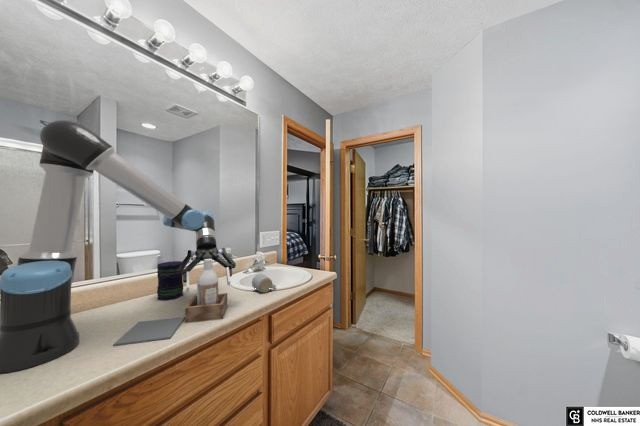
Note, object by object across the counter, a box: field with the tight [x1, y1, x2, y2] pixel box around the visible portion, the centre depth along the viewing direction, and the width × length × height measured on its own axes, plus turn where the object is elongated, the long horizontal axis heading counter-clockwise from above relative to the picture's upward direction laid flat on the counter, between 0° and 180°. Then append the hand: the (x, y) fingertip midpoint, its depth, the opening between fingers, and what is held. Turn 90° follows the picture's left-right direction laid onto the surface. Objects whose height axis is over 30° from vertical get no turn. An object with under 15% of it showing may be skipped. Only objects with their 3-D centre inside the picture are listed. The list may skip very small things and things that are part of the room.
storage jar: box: [156, 260, 184, 302], centre depth 102 cm, size 10×10×15 cm
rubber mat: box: [112, 316, 185, 347], centre depth 72 cm, size 14×14×1 cm
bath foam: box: [196, 259, 219, 306], centre depth 84 cm, size 7×7×20 cm
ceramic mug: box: [251, 273, 277, 294], centre depth 110 cm, size 11×8×8 cm
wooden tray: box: [184, 292, 228, 324], centre depth 84 cm, size 12×12×5 cm
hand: (209, 286), depth 83 cm, fingers open, 13 cm apart
